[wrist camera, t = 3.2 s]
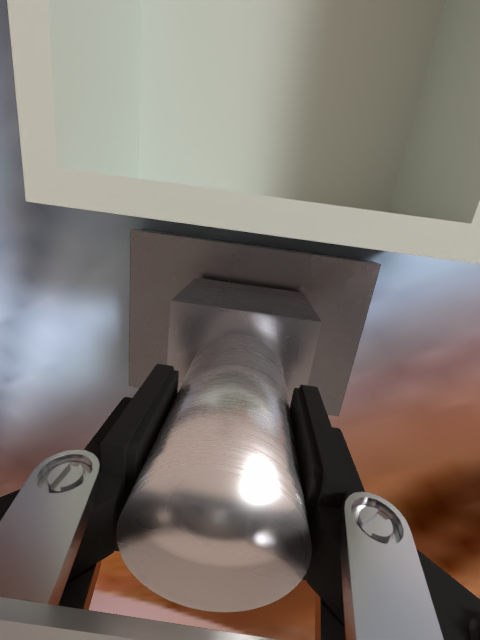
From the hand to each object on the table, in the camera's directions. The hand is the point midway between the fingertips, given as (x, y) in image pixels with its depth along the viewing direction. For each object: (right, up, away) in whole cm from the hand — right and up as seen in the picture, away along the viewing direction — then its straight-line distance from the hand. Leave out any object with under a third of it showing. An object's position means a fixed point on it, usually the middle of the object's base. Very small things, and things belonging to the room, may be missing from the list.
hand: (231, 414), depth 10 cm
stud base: (+1, +3, +9) cm, 10 cm away
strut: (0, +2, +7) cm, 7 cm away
